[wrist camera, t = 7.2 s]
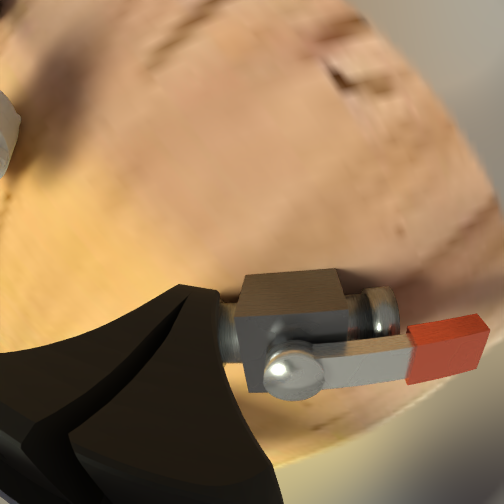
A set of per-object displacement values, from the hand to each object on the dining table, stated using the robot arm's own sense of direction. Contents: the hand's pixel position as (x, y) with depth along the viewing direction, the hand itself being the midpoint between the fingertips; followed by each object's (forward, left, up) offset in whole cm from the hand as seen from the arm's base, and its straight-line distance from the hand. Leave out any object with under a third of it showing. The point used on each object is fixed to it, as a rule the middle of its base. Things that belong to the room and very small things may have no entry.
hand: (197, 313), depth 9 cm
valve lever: (-7, -8, -5) cm, 11 cm away
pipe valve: (-7, -3, -10) cm, 13 cm away
